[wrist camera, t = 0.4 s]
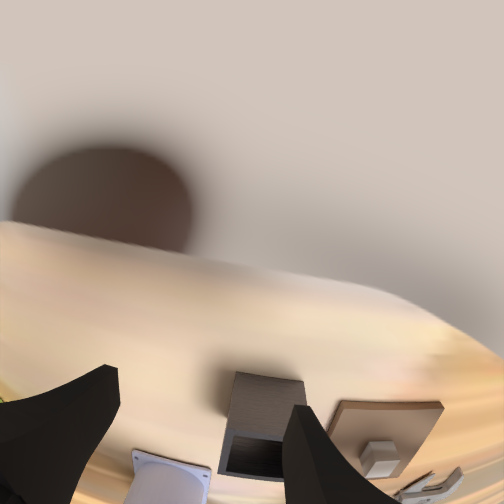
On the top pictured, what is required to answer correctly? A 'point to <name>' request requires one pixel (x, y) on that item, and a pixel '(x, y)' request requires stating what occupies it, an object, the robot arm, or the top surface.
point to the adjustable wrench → (430, 490)
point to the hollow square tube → (258, 426)
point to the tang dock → (382, 434)
